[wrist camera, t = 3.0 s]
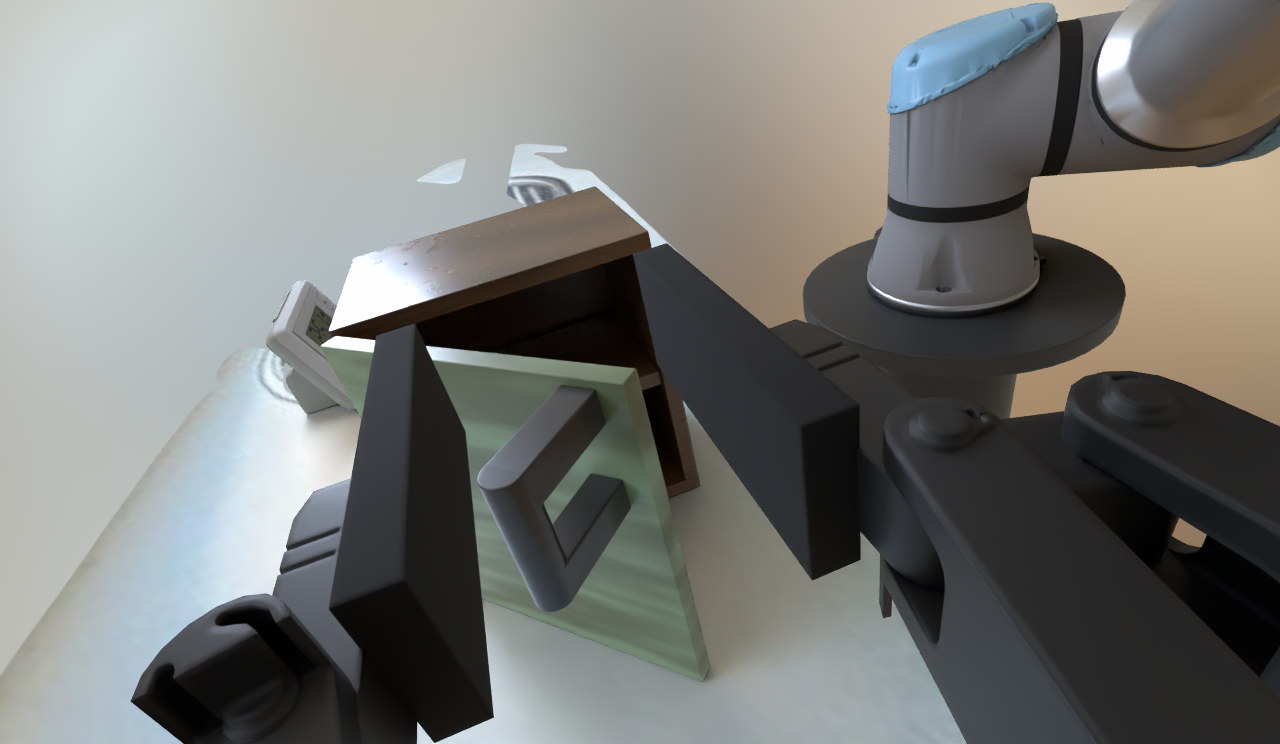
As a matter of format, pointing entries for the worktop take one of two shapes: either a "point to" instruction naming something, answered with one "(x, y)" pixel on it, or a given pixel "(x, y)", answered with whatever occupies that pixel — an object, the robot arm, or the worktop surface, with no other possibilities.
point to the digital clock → (307, 347)
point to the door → (565, 497)
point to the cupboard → (529, 300)
